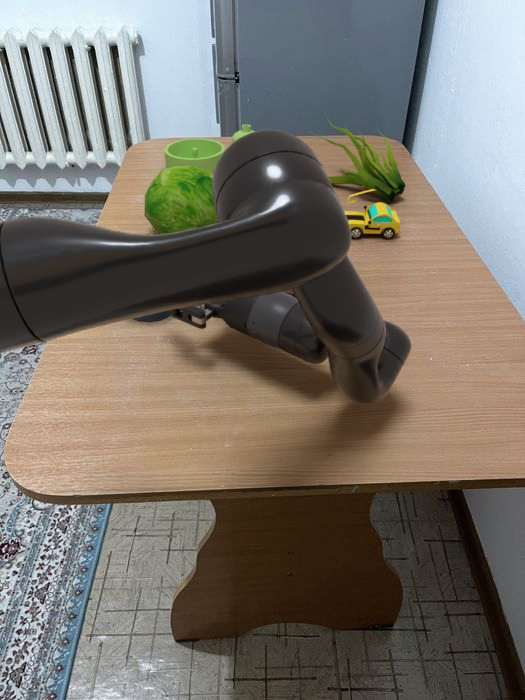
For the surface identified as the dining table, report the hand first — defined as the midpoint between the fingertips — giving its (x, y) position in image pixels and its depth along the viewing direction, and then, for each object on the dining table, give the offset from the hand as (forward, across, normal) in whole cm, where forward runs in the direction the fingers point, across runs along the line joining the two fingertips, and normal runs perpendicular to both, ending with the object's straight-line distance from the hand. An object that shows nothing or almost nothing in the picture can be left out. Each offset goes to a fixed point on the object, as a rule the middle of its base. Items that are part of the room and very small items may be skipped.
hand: (180, 276), depth 85 cm
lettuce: (+22, -24, +9) cm, 34 cm away
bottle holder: (+8, 0, +9) cm, 12 cm away
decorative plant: (+9, -63, +9) cm, 64 cm away
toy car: (-8, -46, +9) cm, 47 cm away
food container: (+36, -49, +9) cm, 62 cm away
